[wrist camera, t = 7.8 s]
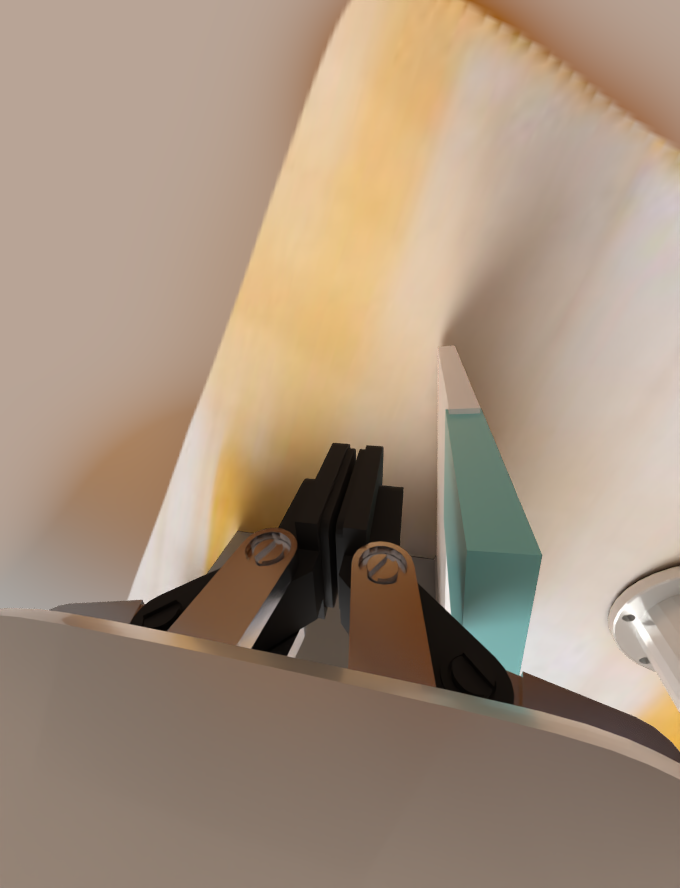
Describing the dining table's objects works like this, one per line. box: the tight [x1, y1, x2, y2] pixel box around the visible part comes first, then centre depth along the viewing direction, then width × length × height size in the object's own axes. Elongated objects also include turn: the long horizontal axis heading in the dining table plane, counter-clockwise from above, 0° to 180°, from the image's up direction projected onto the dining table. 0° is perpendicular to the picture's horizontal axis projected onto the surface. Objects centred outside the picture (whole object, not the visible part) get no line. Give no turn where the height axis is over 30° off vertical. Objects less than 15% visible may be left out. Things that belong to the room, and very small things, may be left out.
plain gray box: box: [207, 531, 436, 669], centre depth 29 cm, size 20×12×13 cm, turn 91°
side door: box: [434, 345, 542, 675], centre depth 17 cm, size 19×1×18 cm, turn 7°
